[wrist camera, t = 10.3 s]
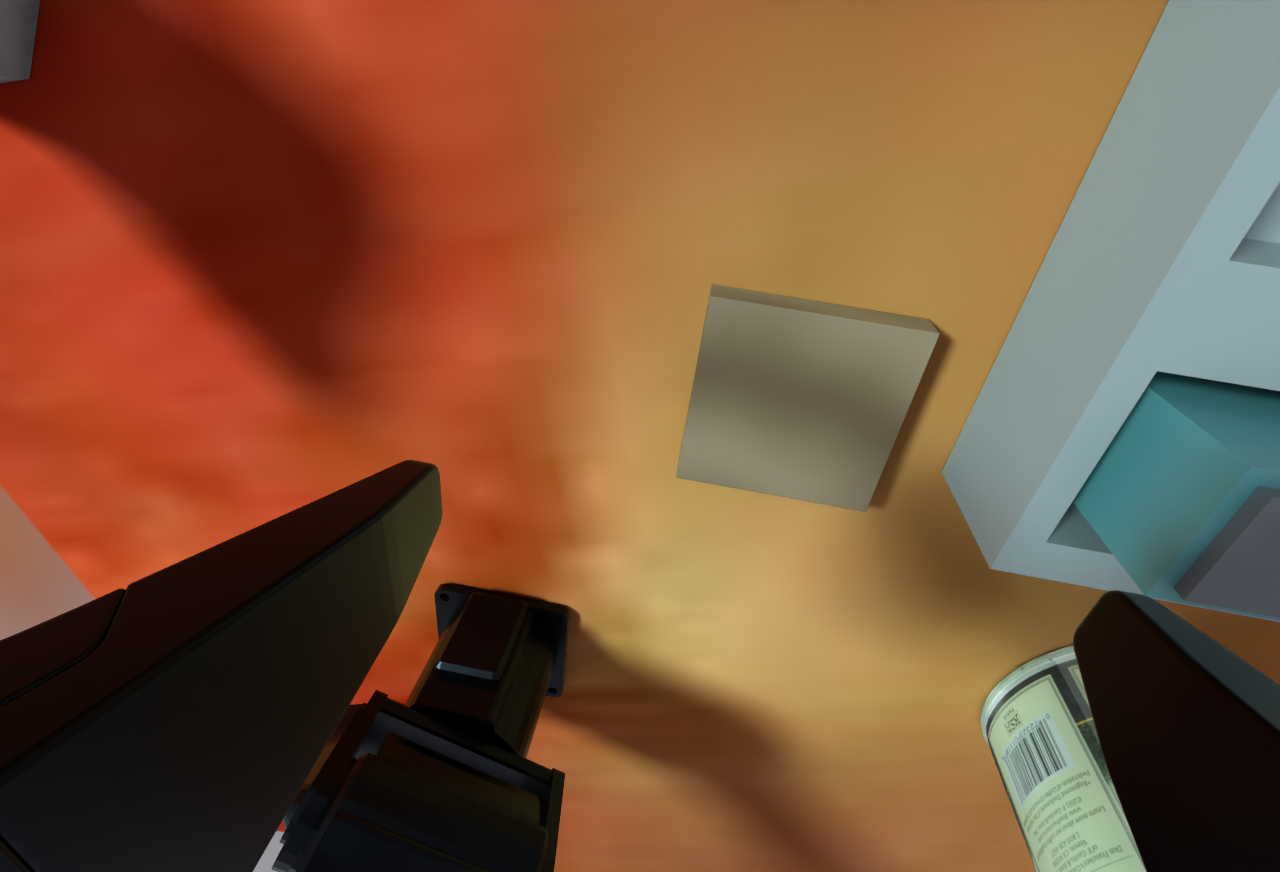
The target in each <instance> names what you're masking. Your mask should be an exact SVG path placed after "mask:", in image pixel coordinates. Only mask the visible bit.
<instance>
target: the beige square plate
mask: <svg viewBox="0 0 1280 872" xmlns="http://www.w3.org/2000/svg"><path fill="white" fill-rule="evenodd" d="M939 334H940V333H939V332H938V330H937V329H936V328H935V326H934V325H933V324H932V322H931V321H930V320H929V319H923V318H917V317H911V316H905V315H898V314H892V313H886V312H880V311H874V310H868V309H861V308H855V307H849V306H843V305H837V304H831V303H824V302H818V301H812V300H806V299H800V298H794V297H787V296H781V295H775V294H769V293H763V292H757V291H750V290H744V289H738V288H732V287H726V286H720V285H714V284H712V287H711V292H710V297H709V303H708V308H707V313H706V319H705V324H704V329H703V335H702V340H701V345H700V351H699V356H698V361H697V367H696V372H695V377H694V383H693V388H692V393H691V399H690V404H689V409H688V415H687V420H686V425H685V431H684V436H683V441H682V447H681V452H680V457H679V463H678V470H677V476H676V478H682V479H687V480H693V481H698V482H704V483H709V484H715V485H720V486H726V487H731V488H737V489H742V490H748V491H753V492H759V493H764V494H770V495H775V496H781V497H786V498H792V499H797V500H803V501H808V502H814V503H819V504H825V505H830V506H836V507H841V508H847V509H852V510H858V511H863V512H866V510H867V508H868V505H869V503H870V500H871V498H872V496H873V493H874V491H875V488H876V486H877V484H878V481H879V479H880V476H881V474H882V471H883V469H884V467H885V464H886V462H887V459H888V457H889V455H890V452H891V450H892V447H893V445H894V443H895V440H896V438H897V435H898V433H899V431H900V428H901V426H902V423H903V421H904V419H905V416H906V414H907V411H908V409H909V407H910V404H911V402H912V399H913V397H914V395H915V392H916V390H917V387H918V385H919V383H920V380H921V378H922V375H923V373H924V371H925V368H926V366H927V363H928V361H929V358H930V356H931V354H932V351H933V349H934V346H935V344H936V342H937V339H938V337H939Z"/></svg>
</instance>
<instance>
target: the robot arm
mask: <svg viewBox="0 0 1280 872" xmlns="http://www.w3.org/2000/svg"><path fill="white" fill-rule="evenodd" d="M441 519H442V498H441V485H440V474H439V470H438V468H437V467H436V466H435V465H434V464H431V463H425V462H420V461H415V460H406V461H403V462H400V463H398V464H396V465H394V466H392V467H389V468H387V469H385V470H383V471H380V472H378V473H376V474H374V475H372V476H369V477H367V478H365V479H363V480H360V481H358V482H356V483H354V484H352V485H349V486H347V487H345V488H343V489H340V490H338V491H336V492H334V493H331V494H329V495H327V496H325V497H323V498H320V499H318V500H316V501H314V502H311V503H309V504H307V505H305V506H303V507H300V508H298V509H296V510H294V511H291V512H289V513H287V514H285V515H283V516H280V517H278V518H276V519H274V520H271V521H269V522H267V523H265V524H263V525H260V526H258V527H256V528H254V529H251V530H249V531H247V532H245V533H243V534H240V535H238V536H236V537H234V538H231V539H229V540H227V541H225V542H223V543H220V544H218V545H216V546H214V547H211V548H209V549H207V550H205V551H202V552H200V553H198V554H196V555H194V556H191V557H189V558H187V559H185V560H182V561H180V562H178V563H176V564H173V565H171V566H169V567H167V568H165V569H162V570H160V571H158V572H156V573H153V574H151V575H149V576H147V577H145V578H142V579H140V580H138V581H136V582H133V583H131V584H130V585H128V587H127V588H126V590H125V589H117V590H115V591H113V592H111V593H109V594H106V595H104V596H102V597H100V598H98V599H95V600H93V601H91V602H89V603H86V604H84V605H82V606H80V607H77V608H75V609H73V610H71V611H68V612H66V613H64V614H61V615H59V616H57V617H54V618H52V619H50V620H48V621H45V622H43V623H40V624H38V625H36V626H34V627H31V628H29V629H27V630H24V631H22V632H20V633H17V634H15V635H13V636H10V637H8V638H5V639H3V640H0V872H253V870H254V868H255V866H256V865H257V863H258V861H259V860H260V858H261V856H262V854H263V853H264V851H265V849H266V847H267V846H268V844H269V842H270V841H271V839H272V837H273V835H274V834H275V832H276V830H277V829H278V827H279V825H280V823H281V822H282V820H284V825H285V832H284V834H283V836H282V838H281V840H280V843H282V844H284V846H283V847H282V849H281V851H280V853H279V855H278V857H277V859H276V861H275V862H274V865H273V867H272V870H275V871H277V872H553V871H554V865H555V857H556V848H557V840H558V831H559V822H560V814H561V805H562V796H563V787H564V779H565V773H563V772H561V771H559V770H557V769H554V768H553V769H552V770H551V769H548V768H546V767H544V766H542V765H539V764H537V763H535V762H533V761H530V760H528V759H526V757H527V754H528V750H529V747H530V744H531V741H532V738H533V734H534V731H535V728H536V725H537V721H538V718H539V715H540V712H541V709H542V705H543V702H544V699H545V696H546V695H547V696H552V697H558V696H560V695H561V694H562V691H563V687H564V679H565V667H566V654H567V642H568V630H569V617H570V614H569V611H568V610H567V609H566V608H564V607H562V606H558V605H553V604H547V603H542V602H537V601H532V600H527V599H522V598H517V597H512V596H507V595H502V594H497V593H492V592H486V591H481V590H476V589H471V588H466V587H461V586H456V585H451V584H441V585H440V586H439V587H438V589H437V590H436V592H435V604H436V615H437V626H438V636H439V641H438V643H437V645H436V647H435V649H434V650H433V652H432V654H431V656H430V658H429V660H428V662H427V664H426V666H425V667H424V669H423V671H422V673H421V675H420V677H419V679H418V681H417V683H416V685H415V686H414V688H413V690H412V692H411V694H410V696H409V698H408V700H407V702H406V703H405V705H403V704H401V703H399V702H397V701H394V700H392V699H390V698H388V697H387V696H388V695H387V694H385V693H382V692H380V691H378V690H376V691H375V692H374V694H373V695H372V697H371V699H370V700H369V702H368V704H366V703H363V704H358V705H350V703H351V701H352V700H353V698H354V696H355V694H356V693H357V691H358V689H359V687H360V686H361V684H362V682H363V681H364V679H365V677H366V675H367V674H368V672H369V670H370V669H371V667H372V665H373V663H374V662H375V660H376V658H377V657H378V655H379V653H380V651H381V650H382V648H383V646H384V644H385V643H386V641H387V639H388V638H389V636H390V634H391V632H392V630H393V628H394V627H395V625H396V623H397V621H398V619H399V617H400V615H401V613H402V611H403V608H404V606H405V604H406V602H407V600H408V597H409V595H410V593H411V590H412V588H413V586H414V584H415V581H416V579H417V577H418V574H419V572H420V570H421V568H422V565H423V563H424V561H425V559H426V556H427V554H428V552H429V549H430V547H431V545H432V543H433V540H434V538H435V536H436V533H437V531H438V529H439V526H440V523H441ZM558 616H559V617H558ZM1073 647H1074V652H1075V656H1076V659H1077V663H1078V667H1079V670H1080V674H1081V678H1082V681H1083V685H1084V689H1085V692H1086V696H1087V700H1088V703H1089V707H1090V711H1091V714H1092V718H1093V721H1094V725H1095V729H1096V732H1097V736H1098V740H1099V743H1100V747H1101V750H1102V753H1103V757H1104V760H1105V763H1106V766H1107V769H1108V772H1109V775H1110V777H1111V780H1112V783H1113V786H1114V788H1115V791H1116V793H1117V796H1118V799H1119V801H1120V804H1121V807H1122V809H1123V812H1124V814H1125V817H1126V820H1127V822H1128V825H1129V827H1130V830H1131V833H1132V835H1133V838H1134V840H1135V843H1136V846H1137V848H1138V851H1139V853H1140V856H1141V859H1142V861H1143V864H1144V866H1145V869H1146V872H1280V685H1279V684H1277V683H1276V682H1274V681H1273V680H1272V679H1270V678H1269V677H1267V676H1266V675H1264V674H1263V673H1261V672H1260V671H1258V670H1257V669H1255V668H1254V667H1252V666H1251V665H1249V664H1248V663H1246V662H1245V661H1244V660H1242V659H1241V658H1239V657H1238V656H1236V655H1235V654H1233V653H1232V652H1230V651H1229V650H1227V649H1226V648H1224V647H1223V646H1221V645H1220V644H1219V643H1217V642H1216V641H1214V640H1213V639H1211V638H1210V637H1208V636H1207V635H1205V634H1204V633H1202V632H1201V631H1199V630H1198V629H1196V628H1195V627H1193V626H1192V625H1191V624H1189V623H1188V622H1186V621H1185V620H1183V619H1182V618H1180V617H1179V616H1177V615H1176V614H1174V613H1173V612H1171V611H1170V610H1168V609H1167V608H1166V607H1164V606H1163V605H1161V604H1160V603H1158V602H1157V601H1155V600H1154V599H1152V598H1150V597H1148V596H1145V595H1142V594H1136V593H1131V592H1125V591H1120V590H1112V591H1109V592H1107V593H1105V594H1104V595H1103V596H1102V597H1101V598H1100V599H1099V600H1098V602H1097V603H1096V604H1095V606H1094V607H1093V608H1092V610H1091V611H1090V612H1089V613H1088V615H1087V616H1086V617H1085V619H1084V620H1083V621H1082V623H1081V624H1080V625H1079V627H1078V628H1077V630H1076V632H1075V634H1074V639H1073Z"/></svg>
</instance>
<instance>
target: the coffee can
mask: <svg viewBox="0 0 1280 872" xmlns="http://www.w3.org/2000/svg"><path fill="white" fill-rule="evenodd" d="M980 723H981V728H982V733H983V736H984V738H985V740H986V742H987V743H988V745H989V746H990V749H991V752H992V755H993V757H994V760H995V763H996V766H997V768H998V771H999V773H1000V776H1001V779H1002V781H1003V785H1004V787H1005V790H1006V793H1007V795H1008V798H1009V800H1010V802H1011V805H1012V808H1013V811H1014V813H1015V816H1016V819H1017V821H1018V824H1019V827H1020V829H1021V832H1022V834H1023V837H1024V840H1025V842H1026V845H1027V848H1028V850H1029V853H1030V856H1031V858H1032V861H1033V864H1034V866H1035V869H1036V872H1146V869H1145V866H1144V864H1143V861H1142V859H1141V856H1140V853H1139V851H1138V848H1137V846H1136V843H1135V840H1134V838H1133V835H1132V833H1131V830H1130V827H1129V825H1128V822H1127V820H1126V817H1125V814H1124V812H1123V809H1122V807H1121V804H1120V801H1119V799H1118V796H1117V793H1116V791H1115V788H1114V786H1113V783H1112V780H1111V777H1110V775H1109V772H1108V769H1107V766H1106V763H1105V760H1104V757H1103V753H1102V750H1101V747H1100V743H1099V740H1098V736H1097V732H1096V729H1095V725H1094V721H1093V718H1092V714H1091V711H1090V707H1089V703H1088V700H1087V696H1086V692H1085V689H1084V685H1083V681H1082V678H1081V674H1080V670H1079V667H1078V663H1077V659H1076V656H1075V652H1074V647H1073V645H1072V646H1068V647H1064V648H1061V649H1058V650H1056V651H1053V652H1050V653H1047V654H1044V655H1041V656H1039V657H1036V658H1034V659H1032V660H1030V661H1029V662H1027V663H1025V664H1023V665H1021V666H1019V667H1017V668H1016V669H1015V670H1014V671H1013V672H1011V673H1010V674H1009V675H1007V676H1006V677H1005V678H1004V679H1002V680H1001V681H1000V682H999V683H998V684H997V685H996V686H995V688H994V689H993V690H992V691H991V692H990V694H989V695H988V697H987V699H986V701H985V703H984V705H983V708H982V713H981V718H980Z"/></svg>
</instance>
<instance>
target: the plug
mask: <svg viewBox="0 0 1280 872" xmlns="http://www.w3.org/2000/svg"><path fill="white" fill-rule="evenodd" d="M1072 502H1073V503H1074V504H1075V506H1076V507H1077V508H1078V509H1079V511H1080V512H1081V513H1082V515H1083V516H1084V517H1085V519H1086V520H1087V521H1088V522H1089V524H1090V525H1091V526H1092V528H1093V529H1094V530H1095V532H1096V533H1097V534H1098V535H1099V537H1100V538H1101V539H1102V541H1103V542H1104V543H1105V545H1106V546H1107V547H1108V548H1109V550H1110V551H1111V552H1112V554H1113V555H1114V556H1115V557H1116V559H1117V560H1118V561H1119V563H1120V564H1121V565H1122V567H1123V568H1124V569H1125V570H1126V572H1127V573H1128V574H1129V576H1130V577H1131V578H1132V580H1133V581H1134V582H1135V583H1136V585H1137V586H1138V587H1139V589H1140V590H1141V591H1142V593H1143V594H1144V595H1145V596H1148V597H1151V598H1157V599H1162V600H1168V601H1173V602H1179V603H1185V604H1190V605H1196V606H1201V607H1207V608H1213V609H1218V610H1224V611H1229V612H1235V613H1240V614H1246V615H1252V616H1257V617H1263V618H1268V619H1274V620H1279V621H1280V396H1278V395H1277V394H1275V393H1273V392H1272V391H1270V390H1268V389H1264V388H1257V387H1251V386H1245V385H1239V384H1233V383H1227V382H1221V381H1215V380H1209V379H1202V378H1196V377H1190V376H1184V375H1178V374H1172V373H1166V372H1160V371H1157V372H1156V373H1155V375H1154V377H1153V378H1152V380H1151V381H1150V383H1149V384H1148V386H1147V387H1146V389H1145V390H1144V392H1143V393H1142V395H1141V397H1140V398H1139V400H1138V401H1137V403H1136V404H1135V406H1134V407H1133V409H1132V410H1131V412H1130V414H1129V415H1128V417H1127V418H1126V420H1125V421H1124V423H1123V424H1122V426H1121V427H1120V429H1119V431H1118V432H1117V434H1116V435H1115V437H1114V438H1113V440H1112V441H1111V443H1110V444H1109V446H1108V447H1107V449H1106V451H1105V452H1104V454H1103V455H1102V457H1101V458H1100V460H1099V461H1098V463H1097V464H1096V466H1095V468H1094V469H1093V471H1092V472H1091V474H1090V475H1089V477H1088V478H1087V480H1086V481H1085V483H1084V484H1083V486H1082V488H1081V489H1080V491H1079V492H1078V494H1077V495H1076V497H1075V498H1074V500H1073V501H1072Z"/></svg>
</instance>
